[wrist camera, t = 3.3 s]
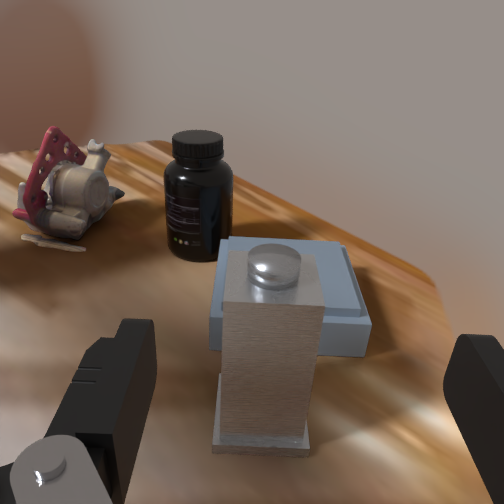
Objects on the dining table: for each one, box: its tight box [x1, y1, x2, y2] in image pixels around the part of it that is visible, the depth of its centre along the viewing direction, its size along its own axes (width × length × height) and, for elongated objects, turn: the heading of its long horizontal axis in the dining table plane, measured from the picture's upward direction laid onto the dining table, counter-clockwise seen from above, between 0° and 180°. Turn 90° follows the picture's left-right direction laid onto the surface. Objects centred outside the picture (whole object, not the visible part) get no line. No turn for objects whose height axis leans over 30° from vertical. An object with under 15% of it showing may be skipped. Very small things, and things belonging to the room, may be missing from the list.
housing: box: [212, 243, 325, 457], centre depth 27 cm, size 6×6×12 cm
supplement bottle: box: [164, 130, 233, 262], centre depth 46 cm, size 7×7×12 cm
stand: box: [209, 236, 372, 357], centre depth 39 cm, size 12×12×4 cm
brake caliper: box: [12, 126, 125, 252], centre depth 50 cm, size 11×11×12 cm
